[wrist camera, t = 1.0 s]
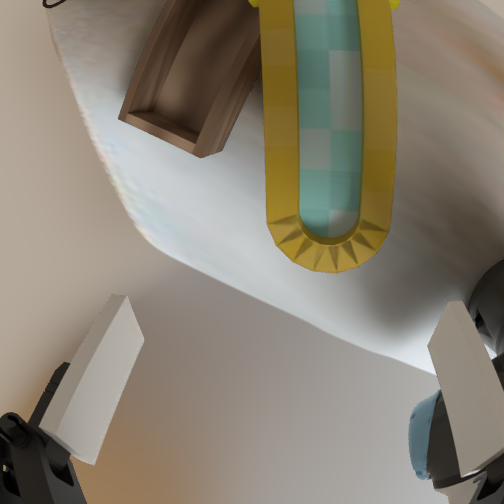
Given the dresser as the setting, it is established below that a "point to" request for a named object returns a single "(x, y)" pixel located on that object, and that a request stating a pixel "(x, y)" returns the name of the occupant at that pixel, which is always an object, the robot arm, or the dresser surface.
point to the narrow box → (195, 73)
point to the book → (329, 128)
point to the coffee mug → (53, 4)
